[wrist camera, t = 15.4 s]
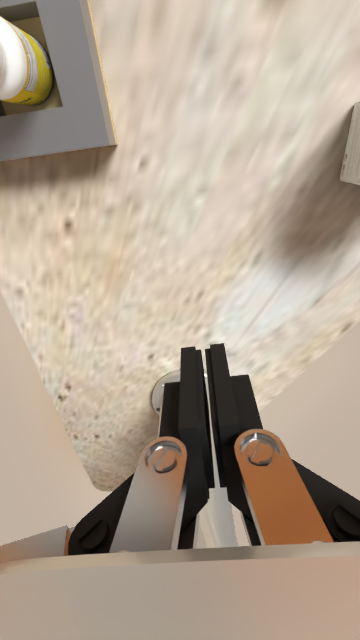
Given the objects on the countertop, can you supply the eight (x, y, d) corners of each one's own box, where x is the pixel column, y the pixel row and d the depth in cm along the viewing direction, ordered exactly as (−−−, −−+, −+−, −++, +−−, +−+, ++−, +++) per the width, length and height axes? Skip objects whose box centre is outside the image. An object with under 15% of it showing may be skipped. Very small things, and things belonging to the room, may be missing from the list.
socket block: (117, 144, 33) (109, 144, 29) (-5, 162, 34) (-27, 164, 30) (80, -45, 26) (64, -74, 22) (-73, -15, 27) (-111, -37, 24)
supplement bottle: (-2, 94, 30) (-77, 75, 22) (1, 23, 27) (-82, -29, 19) (53, 116, 31) (2, 107, 22) (61, 50, 28) (7, 11, 20)
